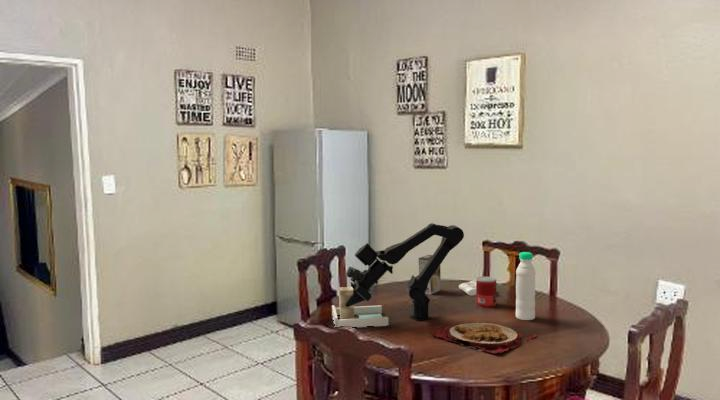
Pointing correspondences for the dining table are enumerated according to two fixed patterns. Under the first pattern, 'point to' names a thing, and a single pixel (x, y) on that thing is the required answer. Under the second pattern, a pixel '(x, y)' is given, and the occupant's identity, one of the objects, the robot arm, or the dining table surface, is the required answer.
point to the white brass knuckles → (469, 287)
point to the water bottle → (525, 288)
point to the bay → (361, 317)
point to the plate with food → (482, 336)
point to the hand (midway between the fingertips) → (345, 304)
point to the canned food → (486, 291)
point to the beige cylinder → (343, 299)
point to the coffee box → (435, 280)
